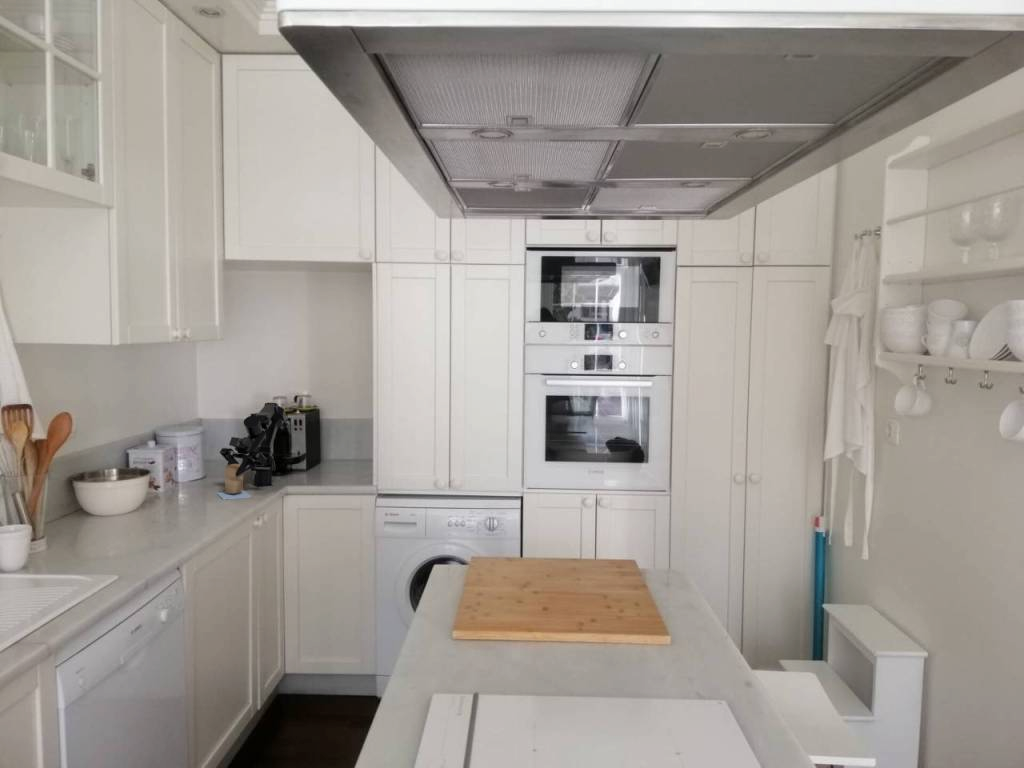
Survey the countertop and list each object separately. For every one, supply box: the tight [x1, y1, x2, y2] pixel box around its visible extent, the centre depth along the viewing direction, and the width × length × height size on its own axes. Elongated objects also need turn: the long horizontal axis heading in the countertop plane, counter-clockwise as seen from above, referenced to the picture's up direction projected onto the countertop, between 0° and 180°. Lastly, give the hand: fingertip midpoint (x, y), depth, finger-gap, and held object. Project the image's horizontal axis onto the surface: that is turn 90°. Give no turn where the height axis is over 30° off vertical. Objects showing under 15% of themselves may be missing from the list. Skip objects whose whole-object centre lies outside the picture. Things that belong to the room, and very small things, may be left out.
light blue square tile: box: [216, 490, 252, 501], centre depth 270 cm, size 10×10×1 cm
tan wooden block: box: [224, 463, 244, 493], centre depth 269 cm, size 4×4×10 cm
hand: (231, 474), depth 268 cm, fingers closed on tan wooden block, 4 cm apart
